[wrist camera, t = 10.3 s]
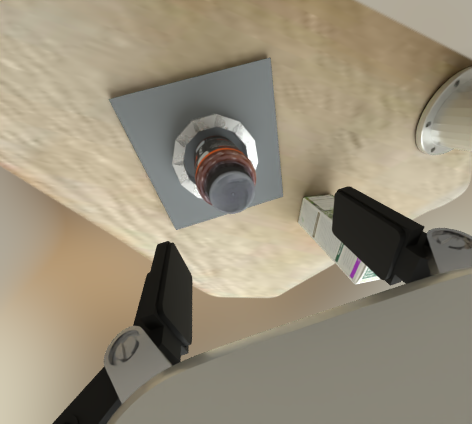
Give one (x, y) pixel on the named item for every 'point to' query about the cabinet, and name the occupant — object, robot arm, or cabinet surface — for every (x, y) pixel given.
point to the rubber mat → (203, 132)
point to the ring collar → (204, 124)
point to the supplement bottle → (224, 175)
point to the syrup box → (331, 237)
